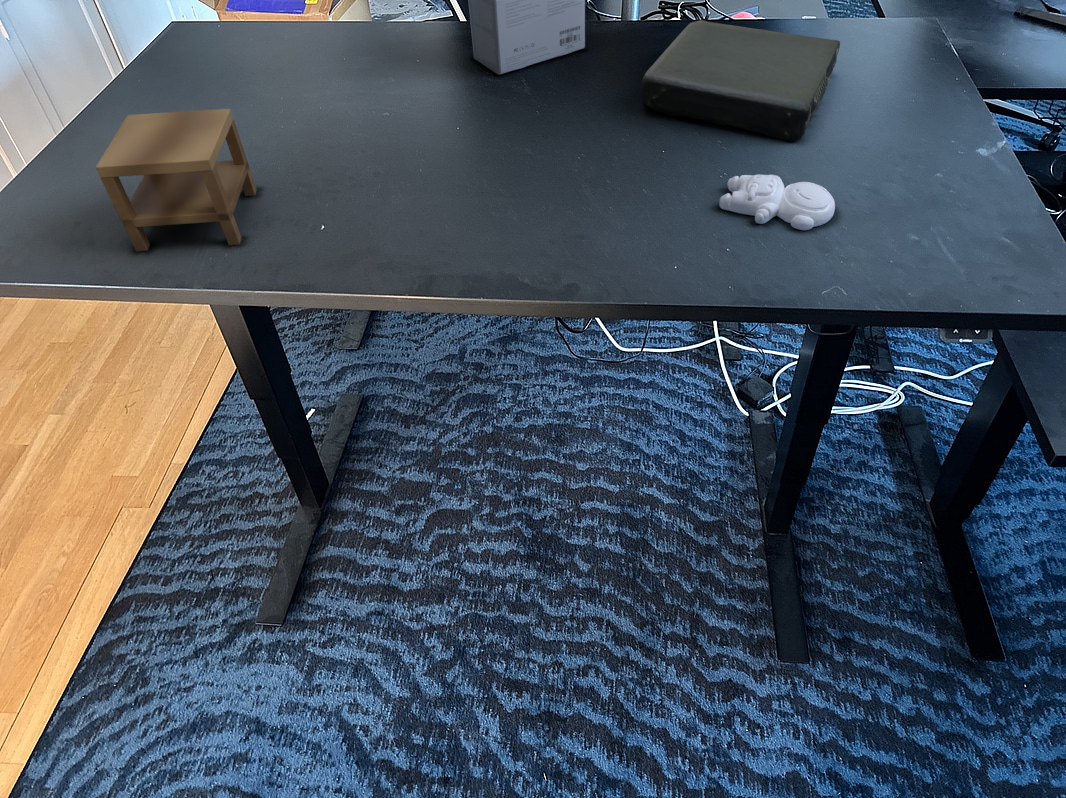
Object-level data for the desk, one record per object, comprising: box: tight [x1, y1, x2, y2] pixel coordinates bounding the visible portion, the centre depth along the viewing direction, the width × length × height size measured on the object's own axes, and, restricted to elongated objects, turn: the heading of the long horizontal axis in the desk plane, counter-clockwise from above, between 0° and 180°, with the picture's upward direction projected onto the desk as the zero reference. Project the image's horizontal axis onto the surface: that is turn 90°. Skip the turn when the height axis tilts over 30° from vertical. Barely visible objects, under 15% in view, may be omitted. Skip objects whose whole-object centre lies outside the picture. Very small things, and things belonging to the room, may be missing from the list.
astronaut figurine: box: [718, 173, 836, 231], centre depth 84 cm, size 9×12×3 cm
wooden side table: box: [95, 108, 257, 253], centre depth 83 cm, size 11×11×10 cm
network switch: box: [640, 19, 841, 142], centre depth 102 cm, size 23×23×5 cm
